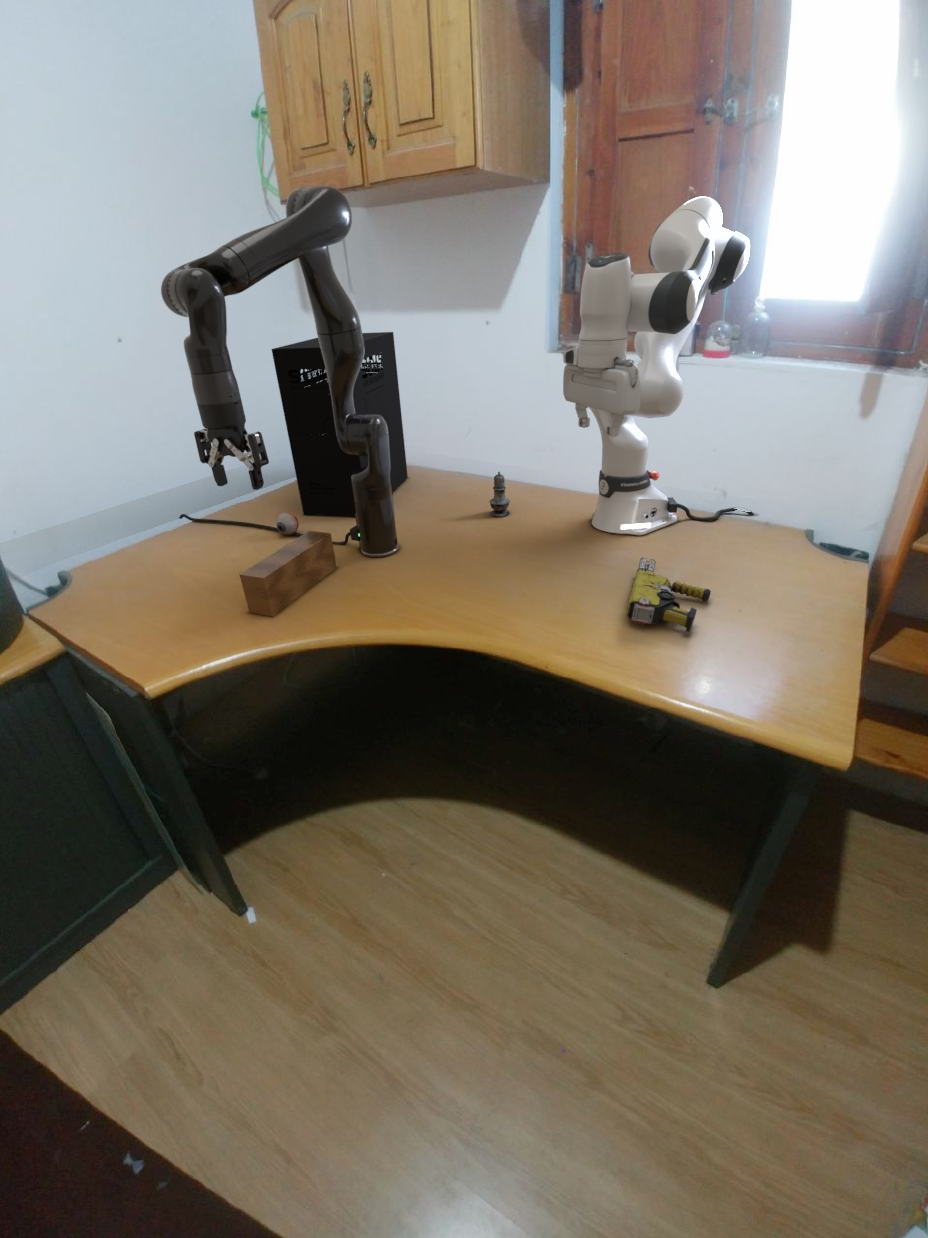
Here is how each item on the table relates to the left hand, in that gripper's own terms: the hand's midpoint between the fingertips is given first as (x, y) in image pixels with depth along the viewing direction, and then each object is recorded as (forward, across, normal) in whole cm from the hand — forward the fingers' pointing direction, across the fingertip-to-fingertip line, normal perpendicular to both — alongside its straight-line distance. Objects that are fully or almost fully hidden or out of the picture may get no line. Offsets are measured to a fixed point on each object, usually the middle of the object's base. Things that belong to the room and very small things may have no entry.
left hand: (240, 486), depth 115 cm
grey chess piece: (+27, +29, +66) cm, 77 cm away
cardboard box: (+27, -20, +70) cm, 78 cm away
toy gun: (+27, +79, +26) cm, 87 cm away
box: (+27, 0, +9) cm, 28 cm away
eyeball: (+27, -22, +36) cm, 50 cm away
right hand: (-5, +61, +35) cm, 70 cm away
